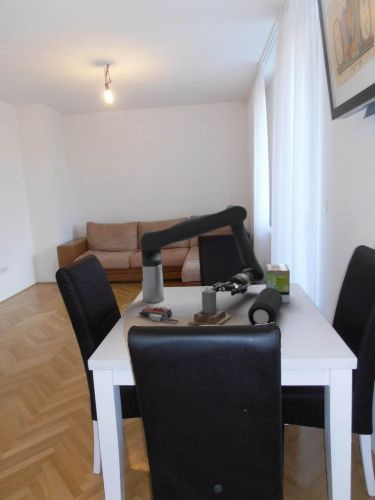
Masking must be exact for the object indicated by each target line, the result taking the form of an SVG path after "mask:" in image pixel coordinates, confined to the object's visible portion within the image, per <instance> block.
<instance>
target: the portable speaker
mask: <svg viewBox="0 0 375 500" xmlns="http://www.w3.org/2000/svg"><path fill="white" fill-rule="evenodd" d="M282 304H283V302H282V296H281V294H280V293H279V291H277V290H276V289H274V288H266V287H265V288H263V289H261V290H260V292H259V293H258V295H257V297H256V298H255V300H254V301H253V303H252V305H251V306H250V307H249V309H248V312H247V318H248V321H249V323H250V324H251V325H252V326H253V325H255V324H265V323H270V322H274V323H275V322H276V320H277V317H278V314H279V312H280V310H281V307H282Z"/></svg>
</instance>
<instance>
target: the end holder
mask: <svg viewBox="0 0 375 500" xmlns="http://www.w3.org/2000/svg"><path fill="white" fill-rule="evenodd" d="M230 318H231V319H232V315H229V314H226V310H225V309H222V310H220V311H217V314H215V315H214V316H210V315H204V314H203V308H201V310H199V311H198V312H195V313H194V314H193V318H192V319H190V320H189V321H187V324H188V325H191V326H196V325H212V324H213V325H221V326H222V325H224V324H225V323H226V321H227V320H228V321H229V320H230ZM228 321H227V322H228ZM224 322H225V323H224ZM223 323H224V324H223Z"/></svg>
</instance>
